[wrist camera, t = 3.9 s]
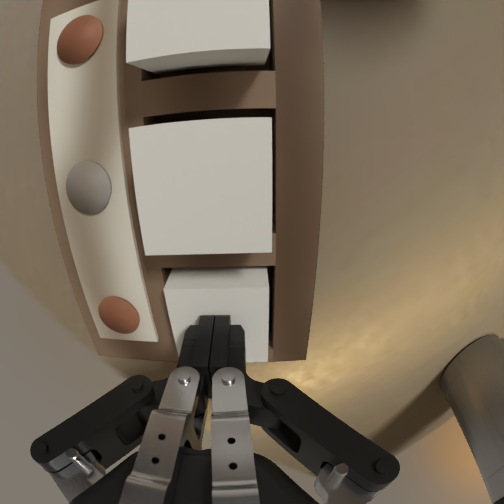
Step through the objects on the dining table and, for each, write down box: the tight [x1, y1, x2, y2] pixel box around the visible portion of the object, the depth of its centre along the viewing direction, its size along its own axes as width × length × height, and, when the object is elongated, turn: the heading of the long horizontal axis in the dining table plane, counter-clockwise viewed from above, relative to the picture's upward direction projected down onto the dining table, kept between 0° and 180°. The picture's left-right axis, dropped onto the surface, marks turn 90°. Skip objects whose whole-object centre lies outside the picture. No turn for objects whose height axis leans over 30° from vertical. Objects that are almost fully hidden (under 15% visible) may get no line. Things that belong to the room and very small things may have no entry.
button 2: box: [129, 117, 272, 256], centre depth 12 cm, size 5×5×4 cm
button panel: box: [37, 0, 324, 362], centre depth 14 cm, size 14×23×4 cm, turn 1°
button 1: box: [163, 266, 269, 362], centre depth 17 cm, size 5×5×4 cm
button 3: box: [126, 0, 270, 74], centre depth 9 cm, size 5×5×4 cm
